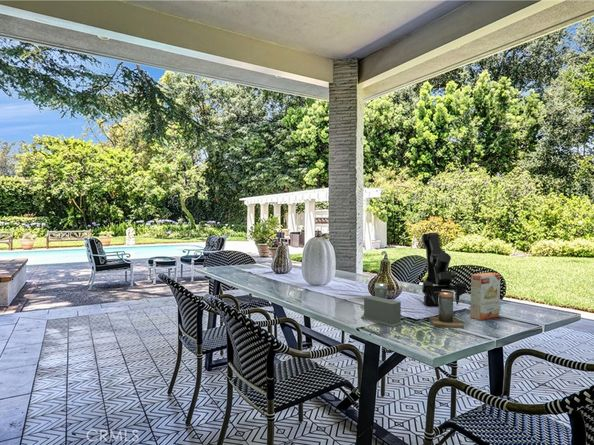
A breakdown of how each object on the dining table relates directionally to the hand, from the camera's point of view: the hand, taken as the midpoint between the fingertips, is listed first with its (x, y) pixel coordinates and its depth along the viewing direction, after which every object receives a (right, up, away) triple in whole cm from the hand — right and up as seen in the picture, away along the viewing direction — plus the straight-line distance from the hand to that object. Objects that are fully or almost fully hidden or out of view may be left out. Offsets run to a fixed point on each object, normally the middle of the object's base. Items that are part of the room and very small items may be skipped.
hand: (446, 303), depth 166 cm
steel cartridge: (-23, -8, +27) cm, 36 cm away
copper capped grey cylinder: (0, -8, +2) cm, 8 cm away
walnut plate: (0, -9, +2) cm, 9 cm away
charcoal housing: (-28, -9, +6) cm, 30 cm away
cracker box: (+23, -9, +11) cm, 27 cm away
